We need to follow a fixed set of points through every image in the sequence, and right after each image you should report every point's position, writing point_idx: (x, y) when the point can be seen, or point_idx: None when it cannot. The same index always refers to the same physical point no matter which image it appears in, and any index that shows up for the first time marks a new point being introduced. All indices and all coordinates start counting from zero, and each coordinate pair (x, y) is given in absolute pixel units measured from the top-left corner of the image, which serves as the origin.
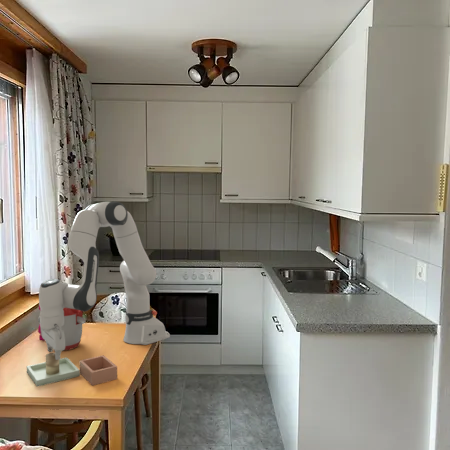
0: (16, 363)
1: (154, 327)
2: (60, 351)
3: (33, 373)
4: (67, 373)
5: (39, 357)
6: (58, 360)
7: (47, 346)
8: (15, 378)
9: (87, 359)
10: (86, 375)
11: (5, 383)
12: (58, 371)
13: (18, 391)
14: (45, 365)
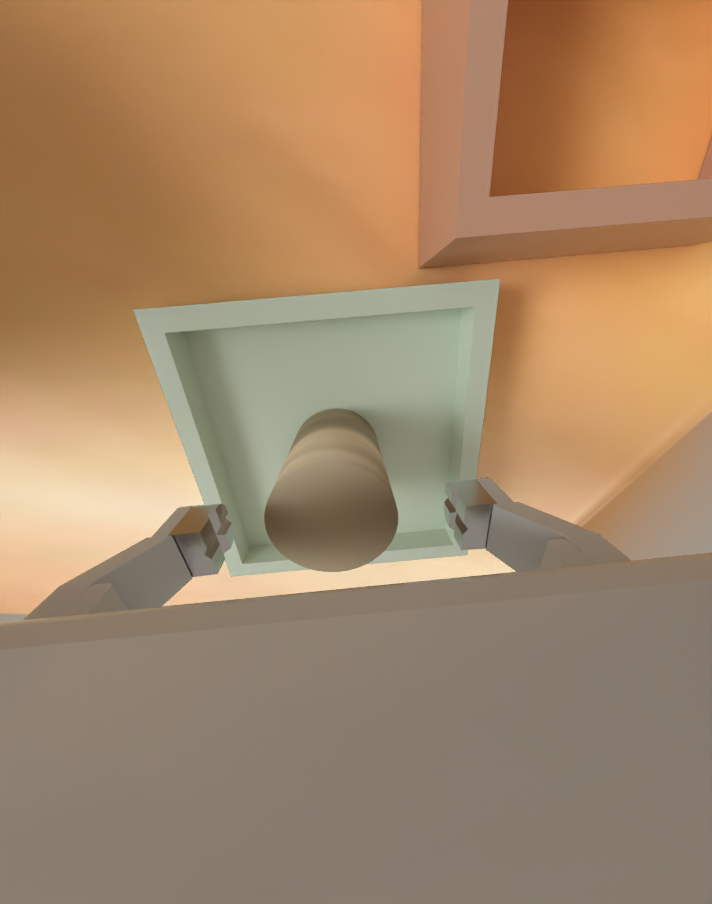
0: None
1: None
2: (587, 539)
3: None
4: (485, 386)
5: (6, 470)
6: (367, 450)
7: (173, 590)
8: (302, 590)
9: (488, 107)
10: (606, 245)
11: None
12: (365, 421)
13: None
14: (223, 476)
